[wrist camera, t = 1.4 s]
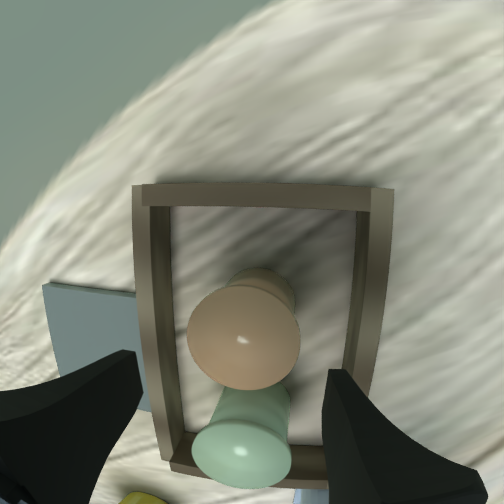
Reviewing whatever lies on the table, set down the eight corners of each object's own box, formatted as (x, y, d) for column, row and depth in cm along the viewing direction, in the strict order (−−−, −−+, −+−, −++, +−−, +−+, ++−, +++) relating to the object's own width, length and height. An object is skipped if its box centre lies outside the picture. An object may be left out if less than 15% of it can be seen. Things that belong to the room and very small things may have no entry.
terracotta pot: (298, 344, 21) (295, 394, 15) (217, 338, 22) (190, 383, 16) (303, 263, 20) (303, 291, 14) (216, 259, 21) (184, 284, 15)
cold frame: (339, 455, 22) (341, 489, 19) (173, 438, 25) (157, 467, 21) (376, 190, 19) (394, 189, 15) (153, 186, 21) (123, 185, 17)
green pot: (292, 432, 23) (286, 492, 16) (218, 425, 23) (196, 481, 17) (299, 371, 22) (295, 431, 15) (215, 364, 22) (187, 418, 16)
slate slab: (160, 406, 24) (155, 413, 23) (69, 381, 25) (63, 386, 24) (146, 294, 22) (140, 298, 21) (49, 282, 24) (41, 285, 23)
